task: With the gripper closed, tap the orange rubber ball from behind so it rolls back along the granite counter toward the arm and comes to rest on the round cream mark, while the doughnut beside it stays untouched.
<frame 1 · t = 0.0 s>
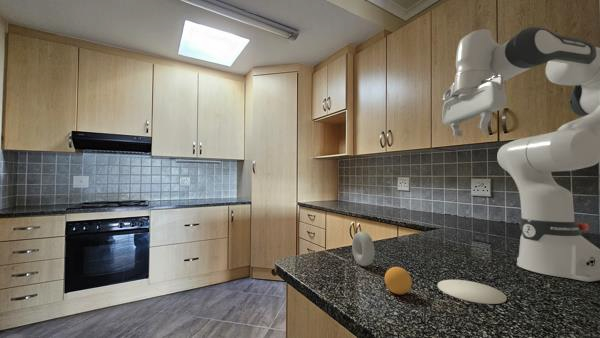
hand: (469, 133, 74), 39 cm above the countertop, tool pointing down, fingers open, 8 cm apart
ball: (397, 280, 57), on the countertop
donut: (362, 266, 77), on the countertop
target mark: (470, 290, 59), on the countertop
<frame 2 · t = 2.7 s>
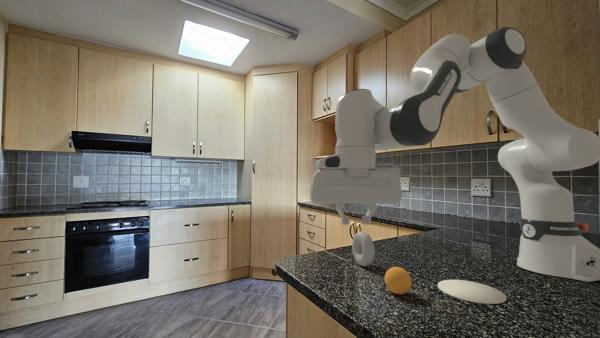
hand: (355, 224, 57), 15 cm above the countertop, tool pointing down, fingers open, 3 cm apart
nothing on the countertop moved.
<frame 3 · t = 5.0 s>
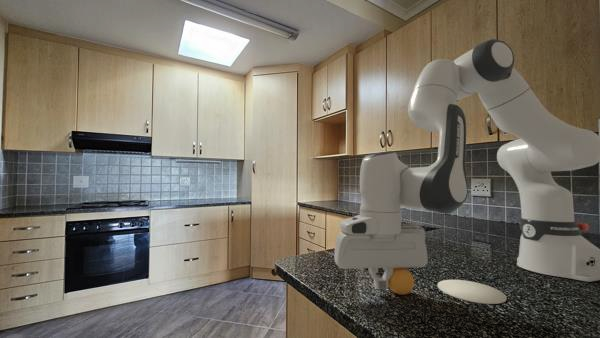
hand: (380, 287, 57), 1 cm above the countertop, tool pointing down, fingers closed
ball: (400, 280, 57), on the countertop, touching gripper
everything else where it was.
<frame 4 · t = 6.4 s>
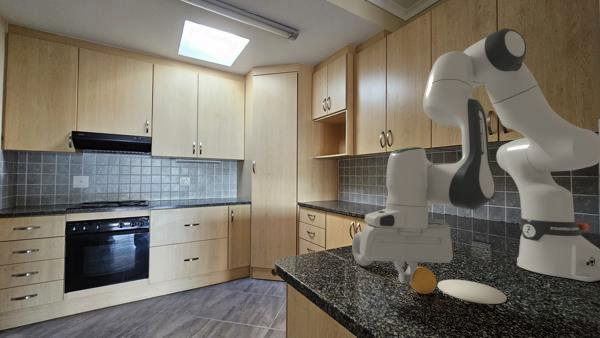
hand: (405, 281, 57), 3 cm above the countertop, tool pointing down, fingers closed
ball: (422, 280, 57), on the countertop, touching gripper
everything else where it was.
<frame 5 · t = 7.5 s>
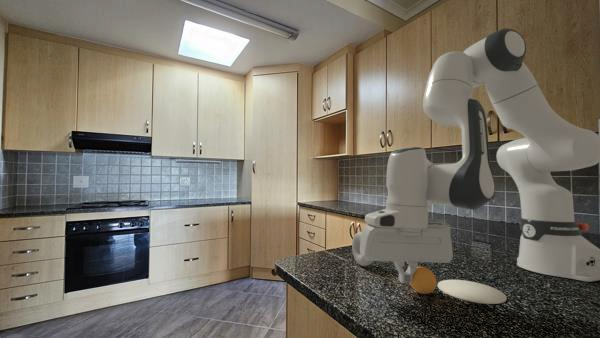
hand: (405, 281, 57), 3 cm above the countertop, tool pointing down, fingers closed
nothing on the countertop moved.
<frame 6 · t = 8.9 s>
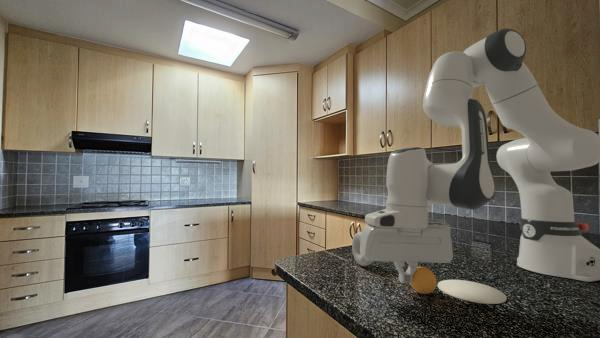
hand: (405, 281, 57), 3 cm above the countertop, tool pointing down, fingers closed
nothing on the countertop moved.
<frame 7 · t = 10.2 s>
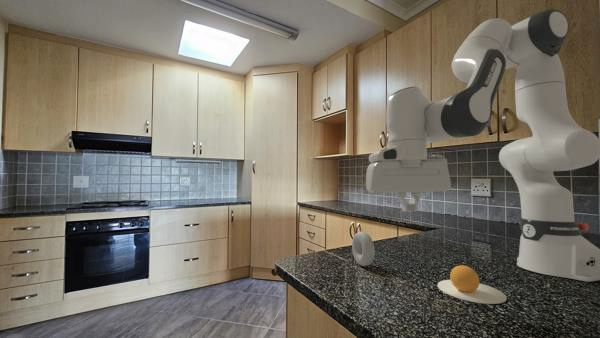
hand: (409, 211, 62), 18 cm above the countertop, tool pointing down, fingers closed
ball: (464, 278, 58), on the countertop
everything else where it was.
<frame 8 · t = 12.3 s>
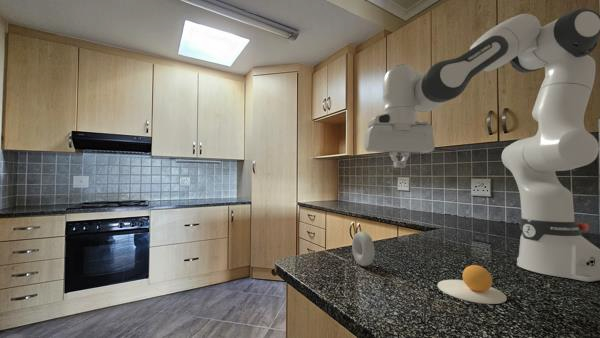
hand: (399, 167, 76), 29 cm above the countertop, tool pointing down, fingers closed
ball: (476, 278, 59), on the countertop
everything else where it was.
at the end: ball 1.7 cm from the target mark (horizontally); ball at rest at the end (0.0 cm/s); ball moved 18.7 cm from its start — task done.
